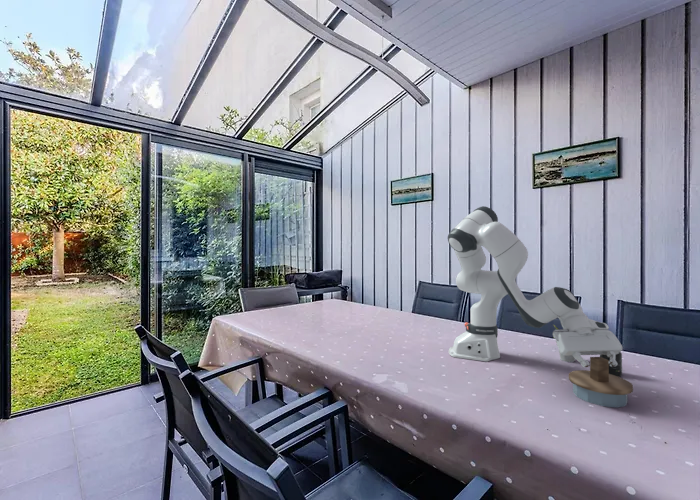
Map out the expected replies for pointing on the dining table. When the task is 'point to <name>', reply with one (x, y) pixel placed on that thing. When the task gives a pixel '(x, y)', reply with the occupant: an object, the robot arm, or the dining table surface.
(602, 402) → the slate bowl
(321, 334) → the dining table surface
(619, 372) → the supplement bottle
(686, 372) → the dining table surface
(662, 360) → the dining table surface
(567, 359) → the house plant
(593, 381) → the walnut lid
